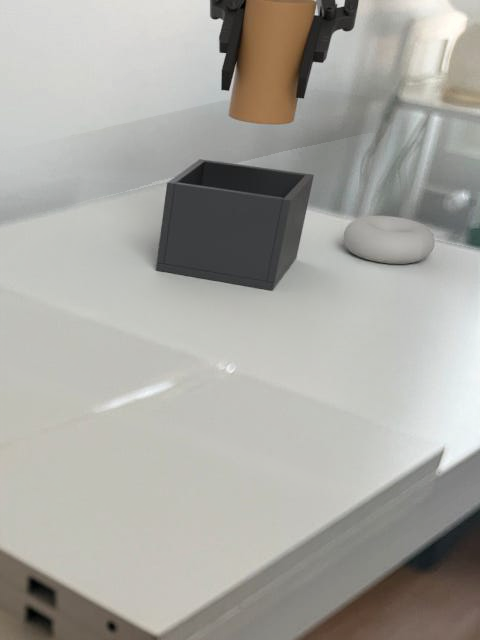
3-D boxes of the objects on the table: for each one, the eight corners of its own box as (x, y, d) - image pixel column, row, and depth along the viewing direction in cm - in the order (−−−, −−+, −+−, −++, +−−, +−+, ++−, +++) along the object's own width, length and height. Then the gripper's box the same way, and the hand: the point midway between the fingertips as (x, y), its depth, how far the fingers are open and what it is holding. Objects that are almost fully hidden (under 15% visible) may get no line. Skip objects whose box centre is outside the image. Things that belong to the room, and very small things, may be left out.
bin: (296, 258, 115) (314, 174, 110) (272, 290, 106) (290, 200, 101) (187, 240, 119) (199, 158, 114) (155, 270, 110) (166, 182, 104)
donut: (364, 237, 124) (324, 252, 118) (372, 207, 122) (331, 220, 116) (444, 257, 118) (406, 273, 112) (453, 226, 116) (415, 240, 110)
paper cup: (304, 118, 102) (338, -50, 94) (275, 127, 98) (308, -49, 90) (247, 108, 105) (275, -56, 97) (216, 116, 101) (242, -55, 93)
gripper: (414, -91, 101) (362, 122, 98) (217, -103, 105) (163, 100, 103) (430, -162, 94) (375, 66, 91) (218, -171, 98) (160, 46, 95)
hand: (263, 84), depth 97 cm, fingers closed on paper cup, 6 cm apart
